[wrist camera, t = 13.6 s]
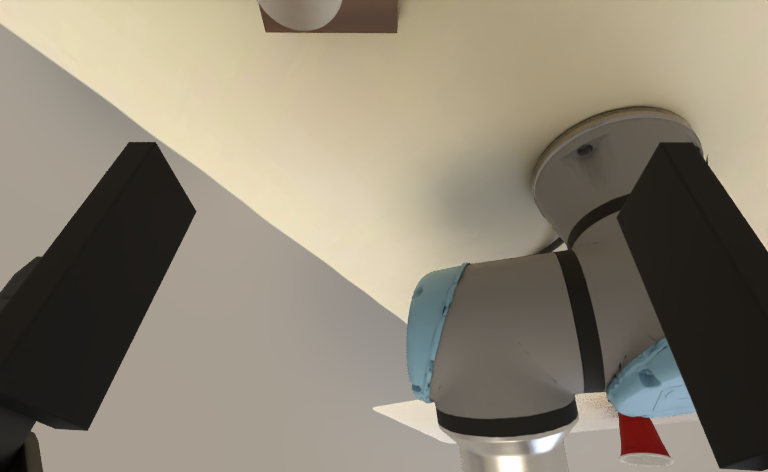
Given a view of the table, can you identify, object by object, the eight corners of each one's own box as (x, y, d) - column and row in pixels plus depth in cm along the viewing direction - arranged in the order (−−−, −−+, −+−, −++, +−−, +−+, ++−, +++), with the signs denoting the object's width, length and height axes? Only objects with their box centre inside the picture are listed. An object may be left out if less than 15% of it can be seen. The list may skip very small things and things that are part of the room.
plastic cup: (618, 399, 96) (635, 456, 88) (664, 403, 96) (685, 460, 88) (598, 412, 104) (611, 465, 97) (640, 416, 104) (656, 468, 97)
